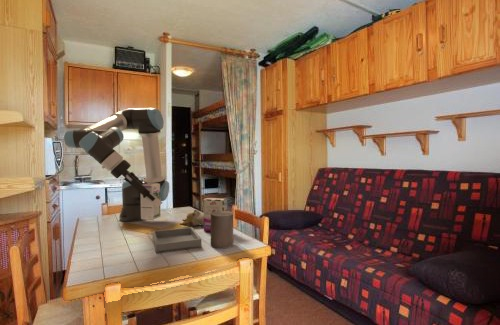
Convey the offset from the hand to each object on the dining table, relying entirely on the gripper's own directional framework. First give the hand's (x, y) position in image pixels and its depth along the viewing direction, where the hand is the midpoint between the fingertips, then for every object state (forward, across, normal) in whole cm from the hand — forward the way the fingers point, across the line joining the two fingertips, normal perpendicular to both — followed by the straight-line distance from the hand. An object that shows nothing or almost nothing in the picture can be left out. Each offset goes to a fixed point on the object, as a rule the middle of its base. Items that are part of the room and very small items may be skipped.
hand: (159, 203), depth 118 cm
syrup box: (+2, 0, -7) cm, 7 cm away
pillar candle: (+31, +8, +5) cm, 32 cm away
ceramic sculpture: (+27, -28, +1) cm, 39 cm away
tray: (+18, -1, -8) cm, 19 cm away
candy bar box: (+32, -13, +7) cm, 36 cm away
